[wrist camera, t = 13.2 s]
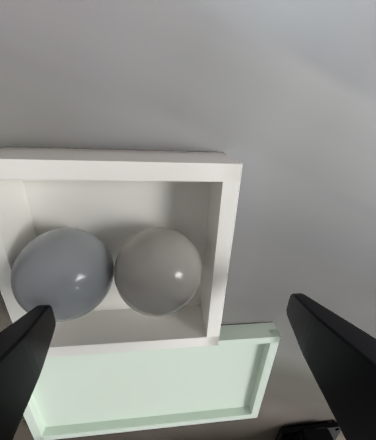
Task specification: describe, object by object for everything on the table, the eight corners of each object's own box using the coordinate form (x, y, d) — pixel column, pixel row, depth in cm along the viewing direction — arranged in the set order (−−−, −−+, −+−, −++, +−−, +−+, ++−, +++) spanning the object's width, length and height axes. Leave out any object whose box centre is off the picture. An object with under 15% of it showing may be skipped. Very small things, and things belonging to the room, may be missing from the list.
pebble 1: (127, 282, 13) (100, 347, 9) (55, 278, 13) (0, 341, 9) (121, 216, 11) (86, 263, 8) (40, 212, 11) (-34, 256, 8)
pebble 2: (210, 290, 12) (176, 353, 9) (147, 269, 14) (99, 316, 11) (217, 224, 11) (179, 270, 7) (145, 208, 12) (87, 240, 9)
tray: (252, 402, 21) (257, 417, 20) (42, 422, 19) (35, 441, 18) (273, 322, 17) (280, 336, 16) (8, 338, 15) (-4, 355, 14)
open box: (208, 305, 16) (218, 345, 13) (51, 312, 14) (25, 358, 12) (223, 152, 11) (242, 163, 9) (5, 146, 10) (-51, 157, 8)
